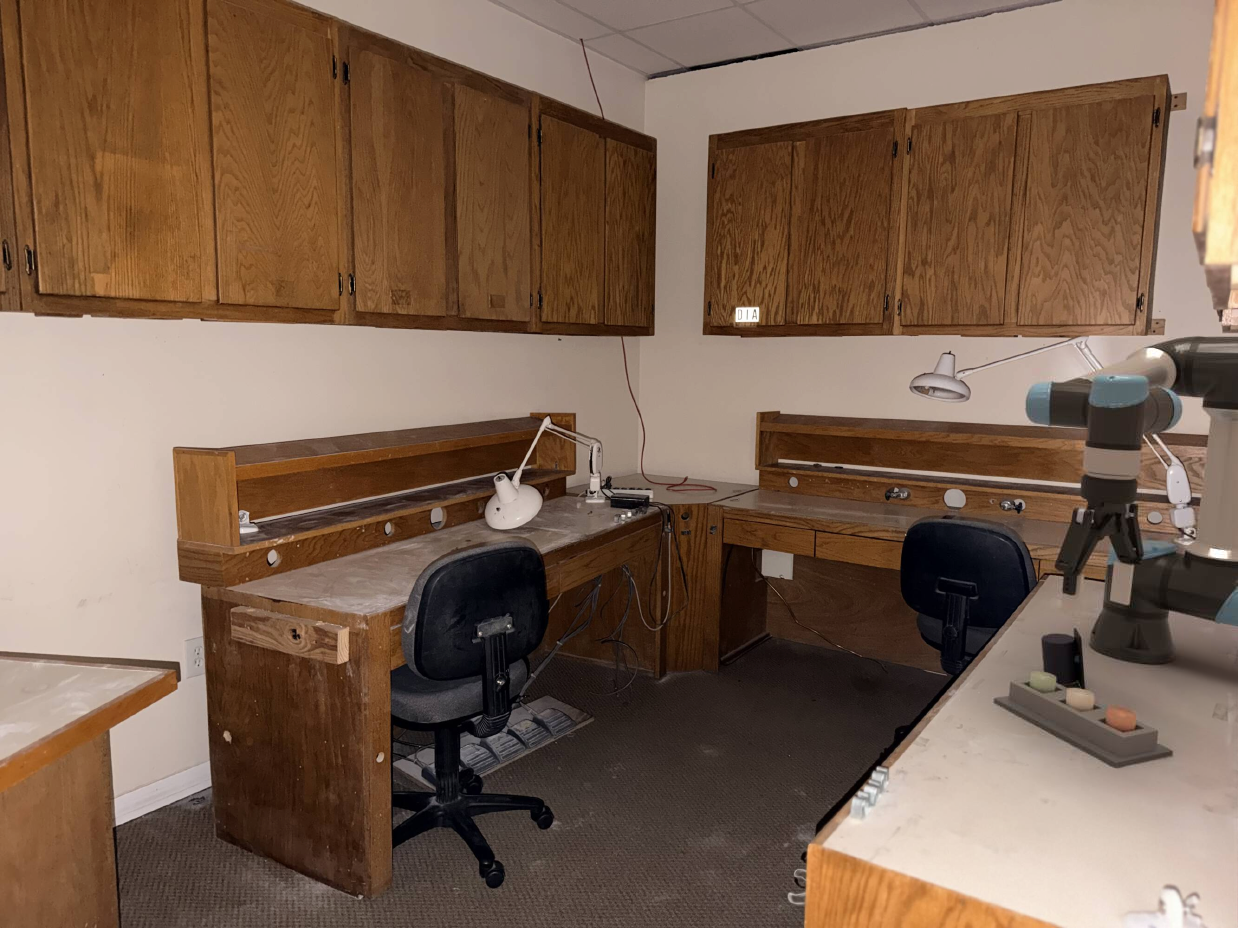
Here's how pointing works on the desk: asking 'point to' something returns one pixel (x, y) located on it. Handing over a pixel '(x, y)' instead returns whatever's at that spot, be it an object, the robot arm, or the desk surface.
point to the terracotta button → (1121, 719)
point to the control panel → (1083, 726)
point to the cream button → (1080, 699)
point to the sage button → (1043, 681)
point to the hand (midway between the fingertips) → (1095, 608)
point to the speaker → (1064, 658)
